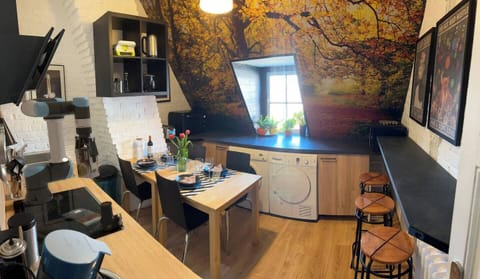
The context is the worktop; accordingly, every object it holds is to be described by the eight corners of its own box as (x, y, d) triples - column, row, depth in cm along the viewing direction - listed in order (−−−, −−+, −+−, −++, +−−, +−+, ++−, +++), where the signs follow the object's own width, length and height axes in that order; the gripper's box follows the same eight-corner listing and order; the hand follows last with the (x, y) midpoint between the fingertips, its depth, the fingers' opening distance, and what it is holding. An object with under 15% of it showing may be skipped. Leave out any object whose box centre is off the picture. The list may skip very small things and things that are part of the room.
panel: (60, 217, 166) (60, 215, 166) (81, 209, 176) (81, 207, 176) (86, 226, 154) (85, 224, 154) (106, 217, 165) (106, 215, 165)
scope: (121, 201, 151) (101, 207, 144) (123, 227, 153) (104, 234, 146) (114, 197, 156) (94, 203, 149) (116, 222, 159) (97, 229, 151)
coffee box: (100, 175, 165) (97, 146, 162) (91, 178, 158) (88, 149, 156) (86, 174, 167) (83, 146, 164) (77, 177, 161) (74, 148, 158)
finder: (69, 217, 163) (68, 211, 163) (78, 213, 167) (77, 208, 167) (75, 219, 160) (75, 213, 160) (84, 216, 164) (84, 210, 164)
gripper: (64, 126, 160) (68, 166, 164) (90, 128, 149) (94, 171, 153) (77, 124, 167) (81, 163, 171) (103, 126, 156) (107, 167, 159)
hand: (87, 167), depth 162 cm, fingers closed on coffee box, 10 cm apart
